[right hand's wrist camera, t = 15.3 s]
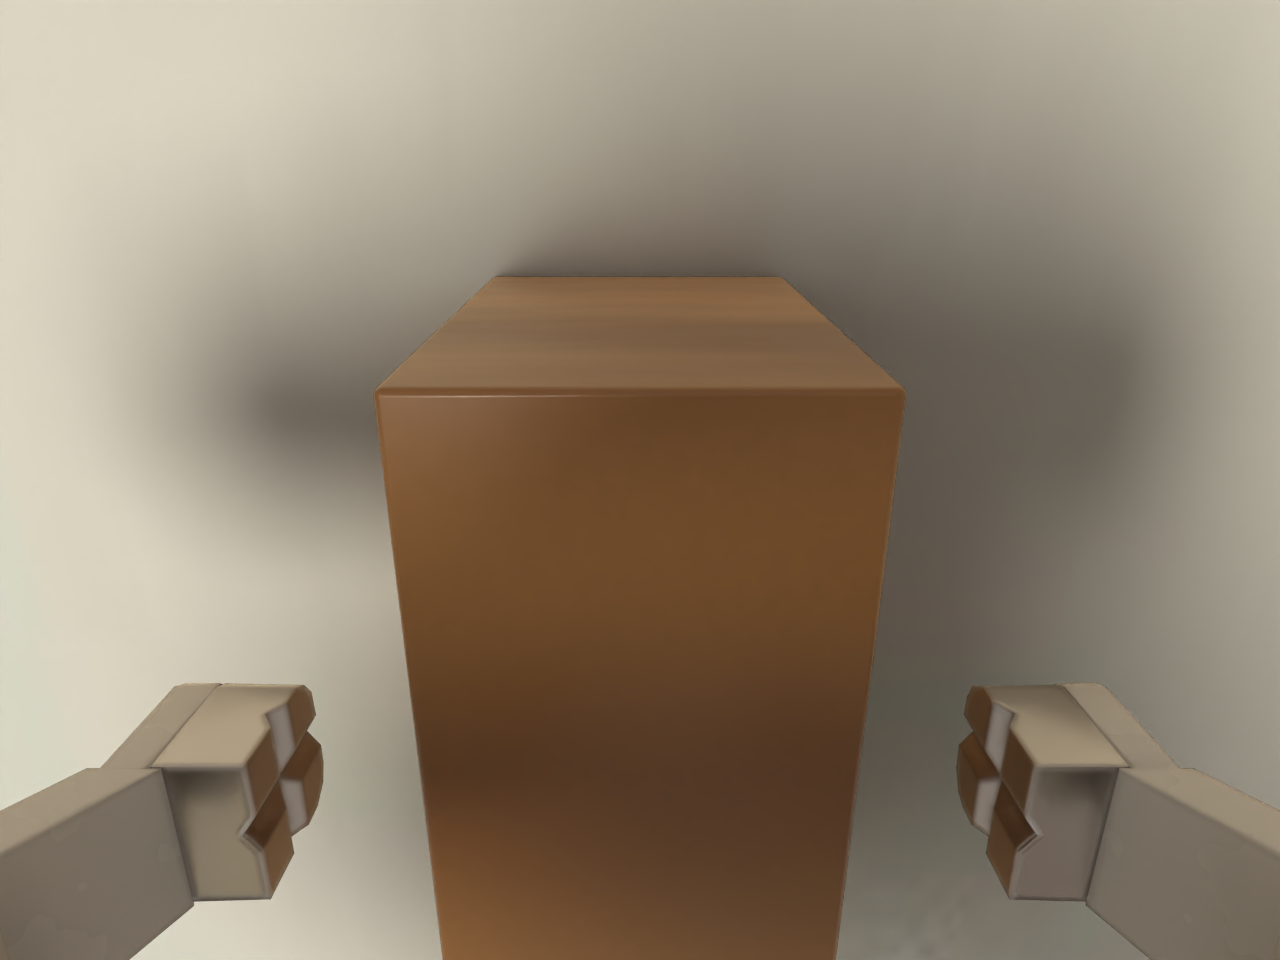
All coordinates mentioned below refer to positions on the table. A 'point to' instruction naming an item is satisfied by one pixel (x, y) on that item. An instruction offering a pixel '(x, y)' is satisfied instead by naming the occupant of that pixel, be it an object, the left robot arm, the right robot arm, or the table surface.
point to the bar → (639, 612)
